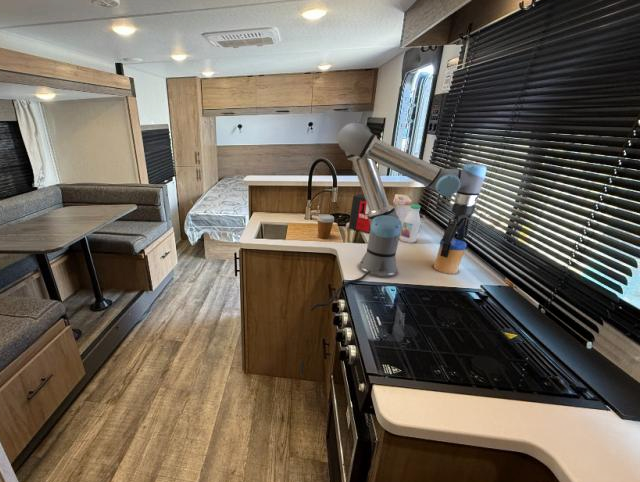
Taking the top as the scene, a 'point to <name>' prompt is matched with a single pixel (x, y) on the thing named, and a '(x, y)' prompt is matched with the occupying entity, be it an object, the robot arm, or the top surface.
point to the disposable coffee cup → (325, 225)
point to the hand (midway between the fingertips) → (449, 253)
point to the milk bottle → (411, 225)
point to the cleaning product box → (359, 214)
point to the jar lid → (456, 244)
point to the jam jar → (448, 261)
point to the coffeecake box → (402, 206)
